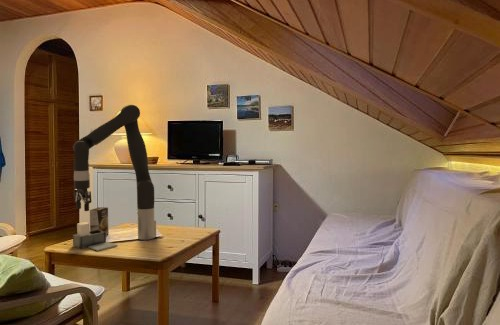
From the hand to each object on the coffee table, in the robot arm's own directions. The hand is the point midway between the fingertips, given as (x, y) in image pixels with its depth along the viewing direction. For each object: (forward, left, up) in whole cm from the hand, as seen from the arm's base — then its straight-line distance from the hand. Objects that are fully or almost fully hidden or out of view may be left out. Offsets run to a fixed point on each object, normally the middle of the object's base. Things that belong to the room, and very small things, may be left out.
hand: (82, 209), depth 200 cm
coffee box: (-15, -11, -20) cm, 27 cm away
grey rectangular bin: (-3, 0, -19) cm, 19 cm away
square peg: (0, 0, -19) cm, 19 cm away
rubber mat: (-5, +10, -19) cm, 22 cm away
